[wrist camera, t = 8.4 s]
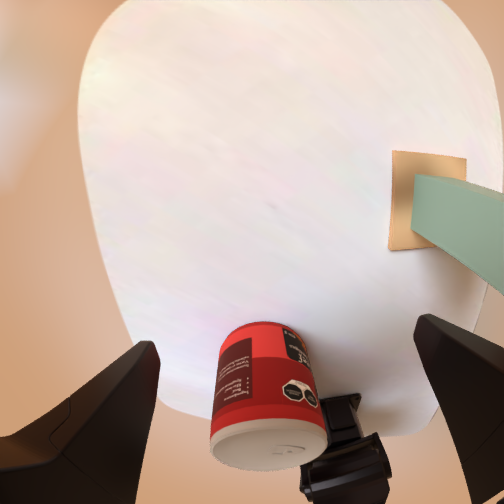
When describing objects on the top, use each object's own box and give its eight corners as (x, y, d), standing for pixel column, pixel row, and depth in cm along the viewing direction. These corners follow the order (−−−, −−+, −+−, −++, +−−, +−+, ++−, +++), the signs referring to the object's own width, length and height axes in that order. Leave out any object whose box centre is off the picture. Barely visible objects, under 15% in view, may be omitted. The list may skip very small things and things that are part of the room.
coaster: (454, 242, 21) (458, 244, 20) (387, 247, 21) (391, 250, 21) (462, 158, 18) (466, 158, 17) (392, 150, 18) (396, 150, 18)
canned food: (303, 373, 26) (322, 465, 16) (226, 379, 26) (219, 473, 16) (306, 314, 23) (336, 418, 13) (213, 321, 23) (197, 428, 13)
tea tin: (448, 229, 20) (555, 300, 8) (409, 229, 20) (523, 316, 8) (454, 176, 18) (576, 223, 6) (413, 172, 18) (550, 221, 6)
